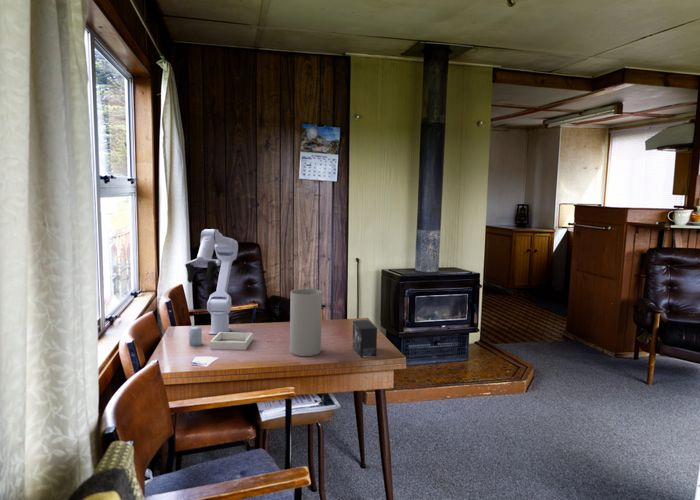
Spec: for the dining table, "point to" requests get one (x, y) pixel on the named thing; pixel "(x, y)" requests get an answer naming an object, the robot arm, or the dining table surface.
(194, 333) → the cylinder
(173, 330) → the dining table surface
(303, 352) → the cylinder vase
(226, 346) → the grey shallow square tray
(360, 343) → the small box
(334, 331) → the dining table surface
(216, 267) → the robot arm
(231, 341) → the pad
